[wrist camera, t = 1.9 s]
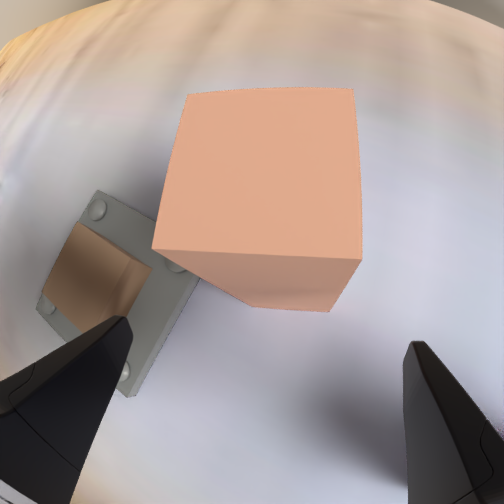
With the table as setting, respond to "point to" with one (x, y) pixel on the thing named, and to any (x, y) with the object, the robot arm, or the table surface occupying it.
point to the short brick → (94, 279)
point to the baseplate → (150, 297)
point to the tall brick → (266, 195)
